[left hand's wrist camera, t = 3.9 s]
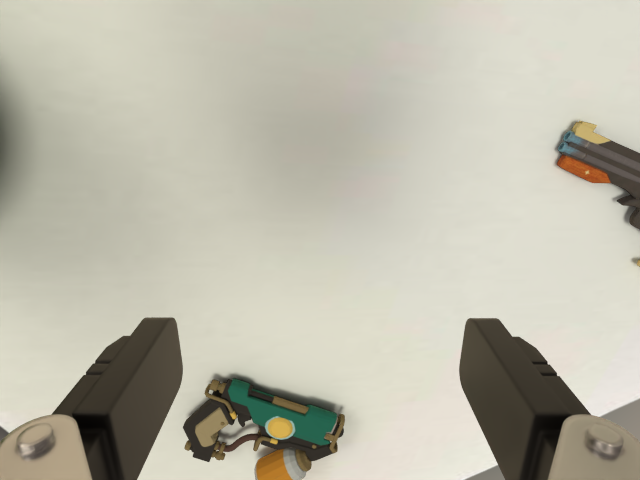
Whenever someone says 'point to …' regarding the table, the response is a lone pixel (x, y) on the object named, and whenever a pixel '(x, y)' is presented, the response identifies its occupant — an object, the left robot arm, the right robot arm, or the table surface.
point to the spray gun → (264, 429)
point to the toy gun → (602, 163)
